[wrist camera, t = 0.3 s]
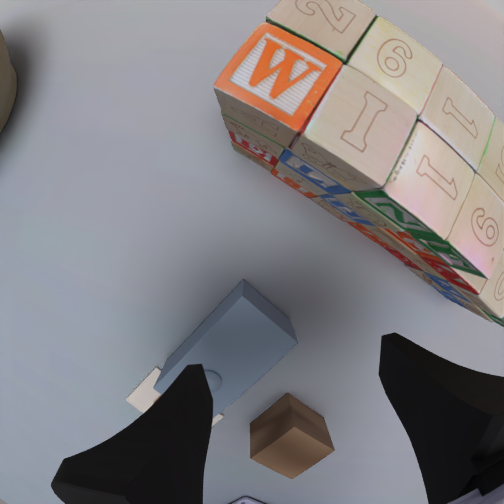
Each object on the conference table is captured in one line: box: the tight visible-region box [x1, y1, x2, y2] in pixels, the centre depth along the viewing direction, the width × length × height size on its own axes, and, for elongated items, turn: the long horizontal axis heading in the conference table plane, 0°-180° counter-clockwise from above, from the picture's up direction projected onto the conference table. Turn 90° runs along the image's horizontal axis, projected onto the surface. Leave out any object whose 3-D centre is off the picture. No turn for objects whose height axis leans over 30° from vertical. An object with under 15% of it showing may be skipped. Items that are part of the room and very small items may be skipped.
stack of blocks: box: [213, 0, 504, 327], centre depth 15 cm, size 21×6×12 cm, turn 58°
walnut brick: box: [250, 393, 334, 479], centre depth 21 cm, size 4×4×4 cm
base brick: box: [153, 279, 298, 418], centre depth 20 cm, size 9×4×4 cm, turn 138°
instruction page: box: [126, 367, 224, 426], centre depth 23 cm, size 7×7×1 cm
